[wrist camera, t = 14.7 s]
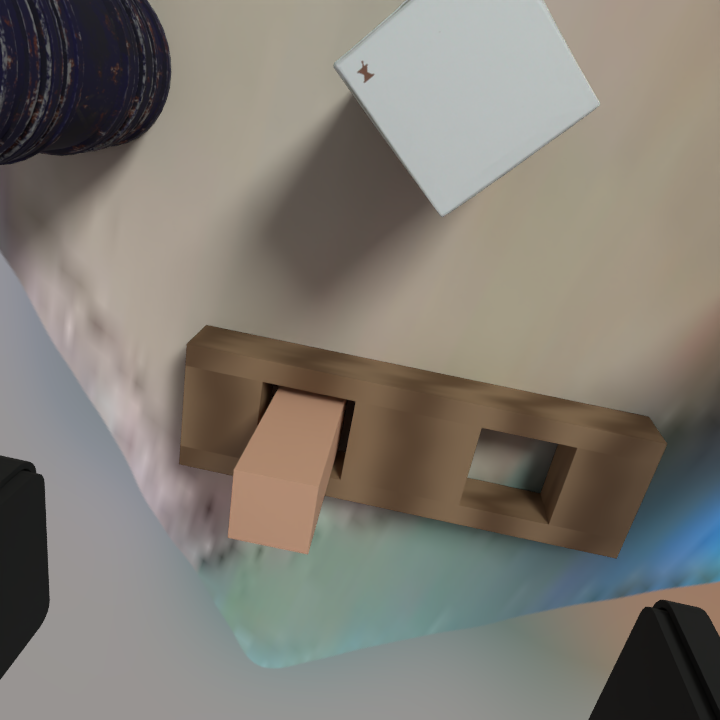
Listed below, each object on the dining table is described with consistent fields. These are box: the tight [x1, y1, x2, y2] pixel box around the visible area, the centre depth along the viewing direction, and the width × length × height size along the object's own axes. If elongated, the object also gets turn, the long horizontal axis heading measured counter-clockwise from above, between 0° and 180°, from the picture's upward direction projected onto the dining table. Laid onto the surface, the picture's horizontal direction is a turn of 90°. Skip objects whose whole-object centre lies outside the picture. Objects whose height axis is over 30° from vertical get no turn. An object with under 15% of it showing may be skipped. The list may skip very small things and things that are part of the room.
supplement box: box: [334, 0, 600, 217], centre depth 28 cm, size 7×7×13 cm
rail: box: [179, 325, 667, 559], centre depth 41 cm, size 30×9×4 cm, turn 80°
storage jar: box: [0, 0, 171, 165], centre depth 29 cm, size 10×10×15 cm
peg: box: [228, 386, 347, 554], centre depth 37 cm, size 4×4×12 cm
